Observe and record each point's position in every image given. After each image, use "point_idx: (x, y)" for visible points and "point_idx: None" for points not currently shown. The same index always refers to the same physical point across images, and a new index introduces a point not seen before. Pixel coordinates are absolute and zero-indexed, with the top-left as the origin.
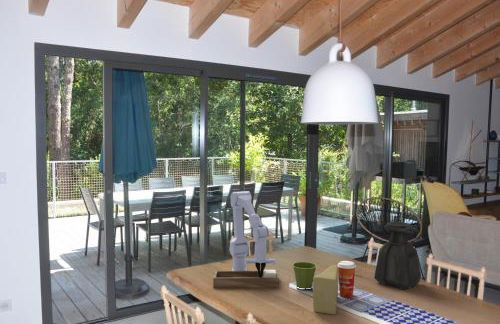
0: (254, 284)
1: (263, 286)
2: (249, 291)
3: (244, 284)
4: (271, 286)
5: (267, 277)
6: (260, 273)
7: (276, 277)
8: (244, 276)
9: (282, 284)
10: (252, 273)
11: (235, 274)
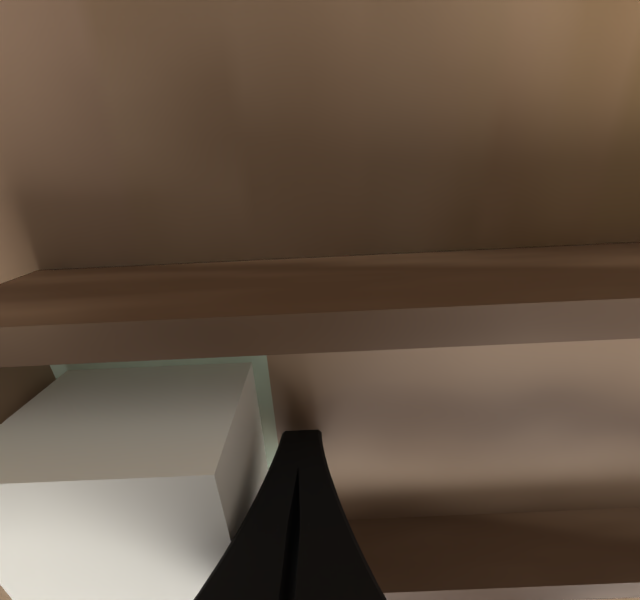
0: (393, 266)
1: (256, 263)
2: (478, 49)
3: (552, 259)
4: (141, 268)
5: (170, 407)
6: None
7: None
8: (503, 506)
9: None
10: (415, 555)
11: (629, 531)
